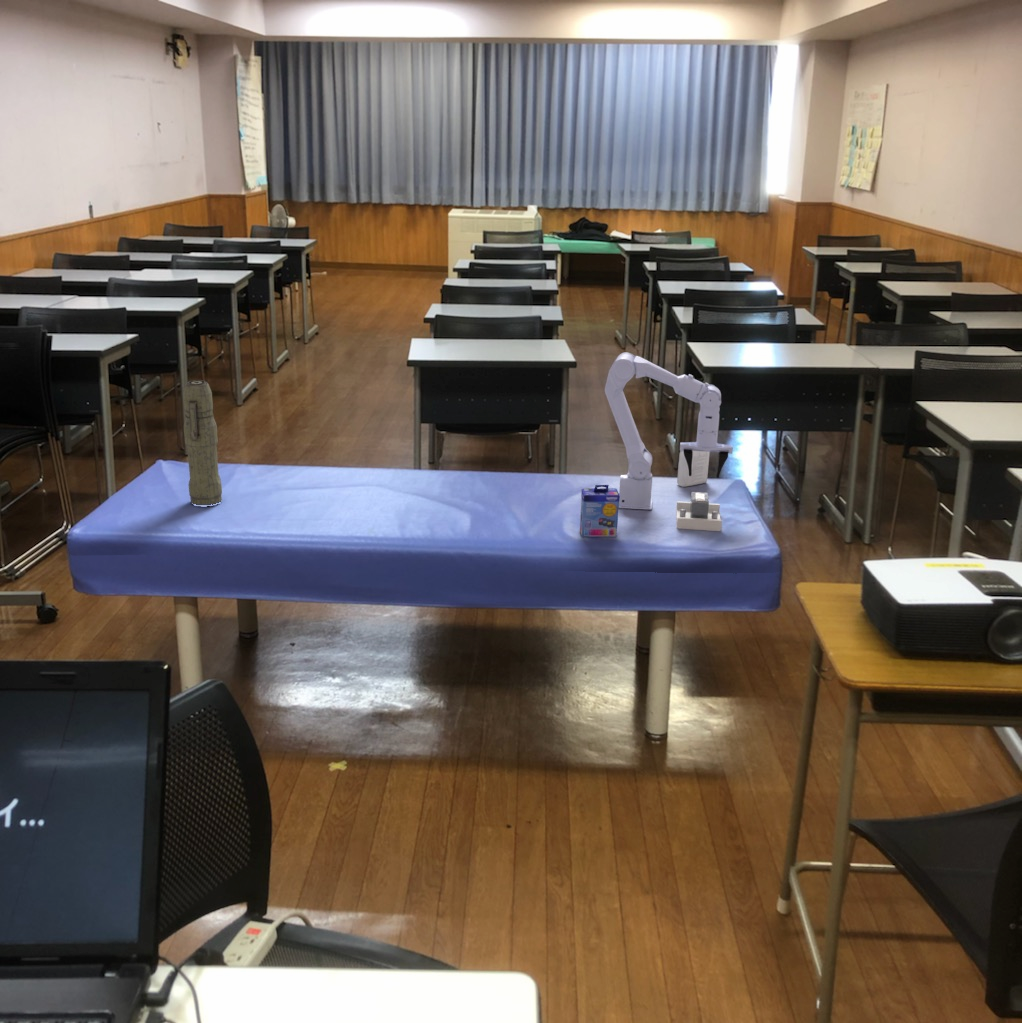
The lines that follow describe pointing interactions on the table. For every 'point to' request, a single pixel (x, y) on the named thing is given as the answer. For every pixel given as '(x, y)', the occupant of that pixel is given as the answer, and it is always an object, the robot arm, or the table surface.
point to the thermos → (201, 444)
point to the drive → (699, 505)
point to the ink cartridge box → (599, 512)
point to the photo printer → (693, 469)
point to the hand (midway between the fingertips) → (703, 475)
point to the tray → (698, 523)
